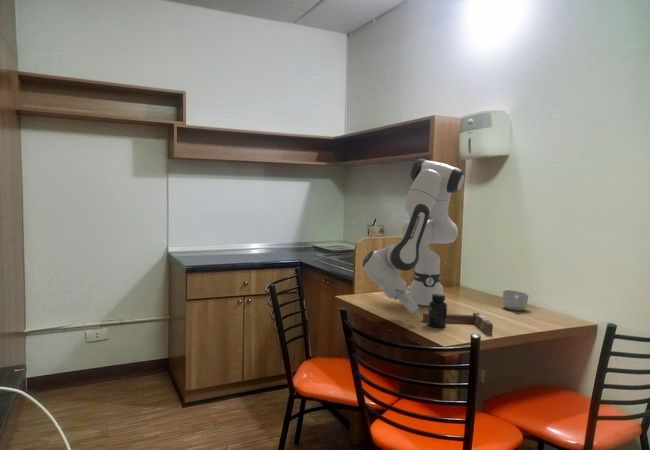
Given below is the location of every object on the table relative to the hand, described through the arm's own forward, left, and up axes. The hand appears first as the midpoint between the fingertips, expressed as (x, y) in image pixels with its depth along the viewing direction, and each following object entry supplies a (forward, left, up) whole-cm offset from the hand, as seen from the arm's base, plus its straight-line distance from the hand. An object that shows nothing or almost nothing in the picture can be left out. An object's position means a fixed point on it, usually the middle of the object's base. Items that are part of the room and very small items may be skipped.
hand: (419, 313), depth 175 cm
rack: (0, +14, -4) cm, 15 cm away
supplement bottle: (0, +7, -5) cm, 8 cm away
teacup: (-32, +50, -5) cm, 60 cm away
